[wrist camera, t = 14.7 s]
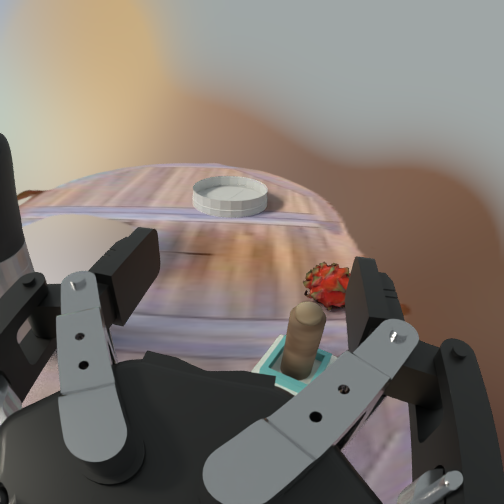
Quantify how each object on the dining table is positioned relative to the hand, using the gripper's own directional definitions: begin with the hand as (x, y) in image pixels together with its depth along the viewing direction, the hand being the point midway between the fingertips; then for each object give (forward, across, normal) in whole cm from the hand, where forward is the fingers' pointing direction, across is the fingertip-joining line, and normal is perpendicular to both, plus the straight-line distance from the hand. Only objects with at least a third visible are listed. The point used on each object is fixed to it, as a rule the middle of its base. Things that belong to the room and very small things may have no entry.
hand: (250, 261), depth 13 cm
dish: (+77, +18, +30) cm, 85 cm away
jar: (+19, -5, +29) cm, 35 cm away
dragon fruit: (+37, -10, +30) cm, 49 cm away
